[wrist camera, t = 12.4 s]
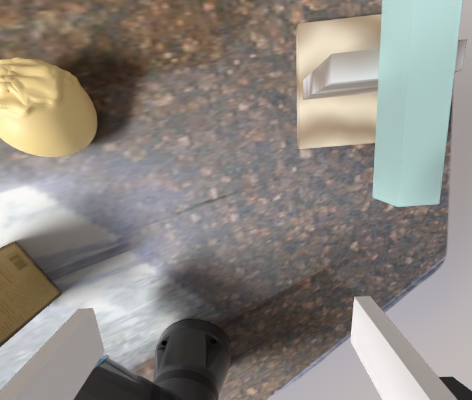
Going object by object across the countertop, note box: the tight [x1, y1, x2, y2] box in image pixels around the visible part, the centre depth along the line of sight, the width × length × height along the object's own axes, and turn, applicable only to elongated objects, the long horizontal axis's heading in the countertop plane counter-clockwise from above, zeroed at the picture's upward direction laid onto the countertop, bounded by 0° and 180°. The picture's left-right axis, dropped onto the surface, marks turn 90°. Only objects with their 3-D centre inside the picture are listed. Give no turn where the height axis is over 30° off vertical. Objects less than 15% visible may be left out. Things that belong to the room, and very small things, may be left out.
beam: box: [373, 0, 463, 207], centre depth 19 cm, size 26×4×4 cm, turn 5°
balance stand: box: [296, 14, 467, 149], centre depth 27 cm, size 16×13×12 cm
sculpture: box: [0, 57, 97, 157], centre depth 30 cm, size 11×12×11 cm
